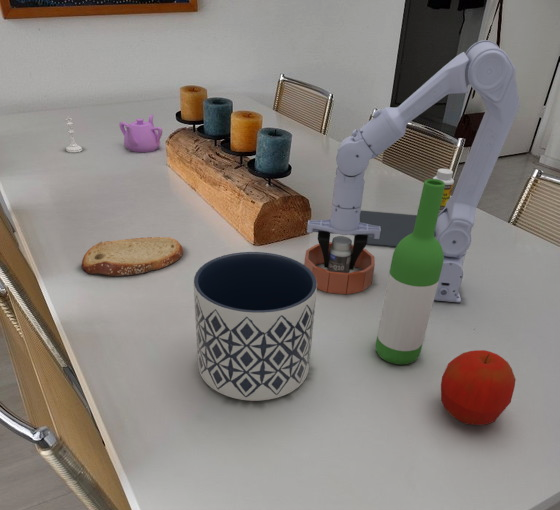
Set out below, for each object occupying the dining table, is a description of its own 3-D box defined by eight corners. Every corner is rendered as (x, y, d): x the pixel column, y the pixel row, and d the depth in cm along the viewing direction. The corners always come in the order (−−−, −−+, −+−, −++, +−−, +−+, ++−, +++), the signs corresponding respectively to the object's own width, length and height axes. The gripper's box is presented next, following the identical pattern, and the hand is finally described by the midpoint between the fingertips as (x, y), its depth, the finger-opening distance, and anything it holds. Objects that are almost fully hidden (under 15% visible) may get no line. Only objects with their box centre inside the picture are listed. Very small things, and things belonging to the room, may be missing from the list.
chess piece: (65, 148, 174) (58, 114, 168) (81, 147, 176) (75, 113, 170) (67, 153, 171) (60, 118, 165) (83, 151, 173) (77, 117, 166)
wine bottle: (425, 350, 96) (469, 180, 77) (410, 372, 91) (454, 196, 72) (384, 335, 99) (417, 168, 80) (367, 357, 94) (398, 183, 75)
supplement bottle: (436, 214, 146) (445, 175, 139) (422, 206, 149) (430, 169, 143) (451, 210, 148) (460, 172, 142) (436, 203, 152) (444, 166, 145)
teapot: (128, 155, 172) (124, 125, 166) (120, 143, 182) (116, 114, 176) (165, 152, 176) (163, 123, 170) (155, 140, 186) (152, 112, 180)
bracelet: (372, 297, 110) (375, 277, 107) (301, 290, 110) (302, 270, 108) (370, 264, 121) (373, 245, 118) (306, 258, 122) (307, 239, 119)
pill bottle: (322, 278, 115) (326, 241, 110) (331, 269, 118) (335, 233, 113) (343, 284, 113) (348, 247, 108) (352, 275, 117) (357, 238, 111)
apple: (488, 392, 88) (511, 333, 80) (511, 437, 80) (538, 376, 72) (427, 392, 87) (443, 332, 80) (444, 437, 79) (464, 375, 72)
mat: (445, 252, 128) (446, 250, 127) (360, 244, 129) (360, 242, 128) (435, 218, 143) (436, 217, 143) (359, 211, 144) (360, 210, 144)
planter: (176, 364, 90) (167, 275, 79) (257, 324, 100) (259, 241, 90) (249, 420, 80) (251, 327, 70) (331, 370, 90) (342, 283, 80)
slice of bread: (189, 249, 123) (188, 233, 120) (153, 286, 109) (151, 269, 107) (117, 236, 126) (114, 221, 124) (74, 271, 112) (70, 255, 110)
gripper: (383, 199, 108) (373, 260, 117) (311, 193, 109) (305, 254, 118) (384, 212, 103) (373, 276, 111) (308, 206, 104) (303, 270, 112)
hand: (338, 266), depth 114 cm, fingers closed on pill bottle, 5 cm apart
